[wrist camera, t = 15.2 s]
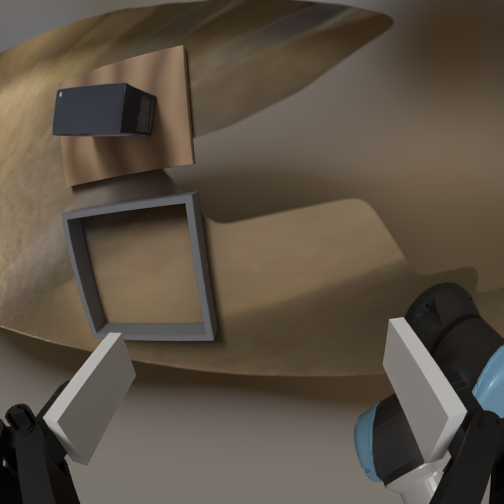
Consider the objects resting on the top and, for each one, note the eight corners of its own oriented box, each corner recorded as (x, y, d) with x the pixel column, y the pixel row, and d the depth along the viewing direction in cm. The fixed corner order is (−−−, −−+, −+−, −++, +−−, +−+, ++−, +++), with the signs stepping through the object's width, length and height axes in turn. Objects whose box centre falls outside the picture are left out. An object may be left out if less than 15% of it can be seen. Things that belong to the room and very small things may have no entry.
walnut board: (185, 48, 37) (183, 45, 36) (195, 163, 42) (192, 164, 41) (64, 84, 39) (59, 83, 38) (71, 186, 44) (66, 187, 43)
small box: (90, 138, 40) (49, 137, 30) (95, 97, 38) (55, 87, 28) (152, 138, 40) (118, 135, 30) (157, 94, 38) (126, 79, 28)
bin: (198, 191, 44) (191, 194, 40) (217, 327, 50) (213, 340, 46) (74, 209, 45) (61, 214, 42) (103, 327, 52) (93, 338, 48)
